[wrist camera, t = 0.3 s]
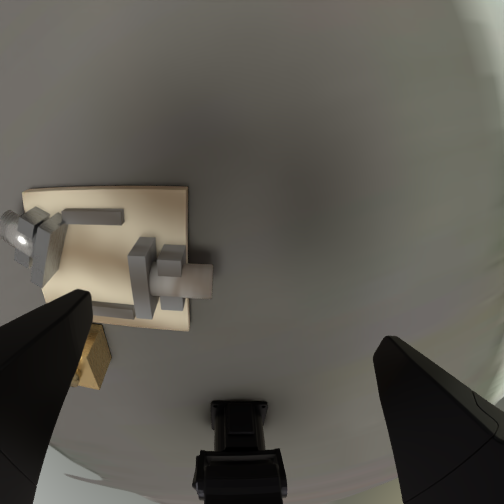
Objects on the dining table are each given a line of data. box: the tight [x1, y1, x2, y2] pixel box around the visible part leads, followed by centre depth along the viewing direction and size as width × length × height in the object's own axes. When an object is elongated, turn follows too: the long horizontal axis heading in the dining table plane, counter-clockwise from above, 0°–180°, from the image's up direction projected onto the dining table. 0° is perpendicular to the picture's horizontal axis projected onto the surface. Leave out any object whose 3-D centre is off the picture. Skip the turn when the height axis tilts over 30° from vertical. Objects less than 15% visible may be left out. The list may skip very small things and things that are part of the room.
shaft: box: [0, 206, 68, 288], centre depth 18 cm, size 6×5×3 cm
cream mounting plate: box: [22, 186, 213, 331], centre depth 20 cm, size 12×16×4 cm
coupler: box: [70, 324, 112, 390], centre depth 23 cm, size 4×4×6 cm
